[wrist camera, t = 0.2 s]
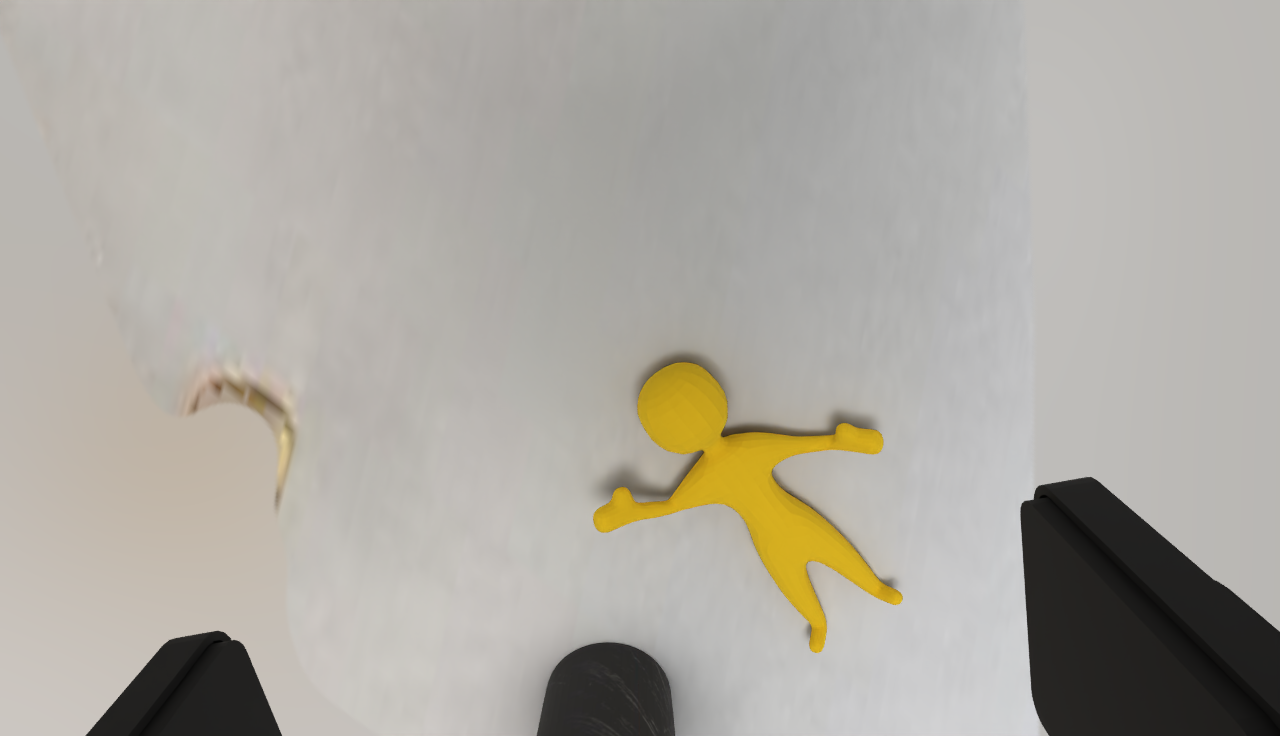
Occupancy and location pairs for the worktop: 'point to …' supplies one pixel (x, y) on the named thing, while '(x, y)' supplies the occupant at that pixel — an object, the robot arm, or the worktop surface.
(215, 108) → the worktop surface
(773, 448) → the figurine
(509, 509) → the worktop surface
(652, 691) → the travel mug
